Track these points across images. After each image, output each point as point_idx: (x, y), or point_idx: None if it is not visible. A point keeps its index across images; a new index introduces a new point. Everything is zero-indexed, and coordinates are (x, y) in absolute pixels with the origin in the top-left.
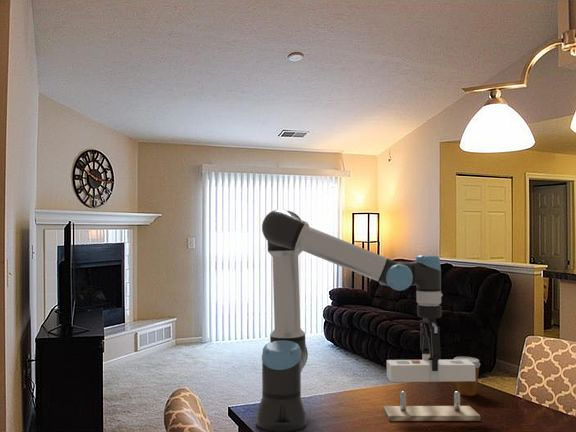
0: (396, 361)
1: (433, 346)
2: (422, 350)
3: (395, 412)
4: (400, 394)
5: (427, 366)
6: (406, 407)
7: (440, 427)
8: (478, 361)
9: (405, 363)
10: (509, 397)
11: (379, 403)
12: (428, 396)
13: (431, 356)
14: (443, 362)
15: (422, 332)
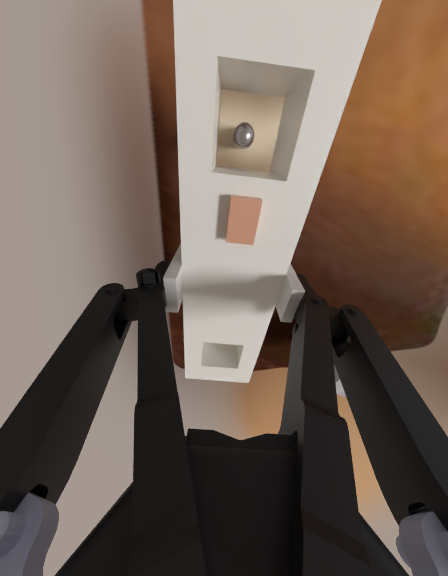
0: (312, 80)
1: (66, 345)
2: (315, 304)
3: (229, 100)
4: (243, 122)
5: (181, 253)
6: (265, 161)
7: (159, 208)
8: (336, 392)
9: (287, 164)
10: (287, 360)
11: (366, 87)
12: (348, 260)
13: (138, 293)
14: (222, 325)
15: (320, 429)
